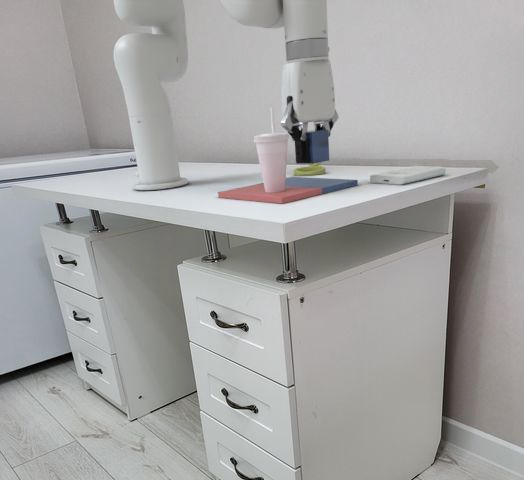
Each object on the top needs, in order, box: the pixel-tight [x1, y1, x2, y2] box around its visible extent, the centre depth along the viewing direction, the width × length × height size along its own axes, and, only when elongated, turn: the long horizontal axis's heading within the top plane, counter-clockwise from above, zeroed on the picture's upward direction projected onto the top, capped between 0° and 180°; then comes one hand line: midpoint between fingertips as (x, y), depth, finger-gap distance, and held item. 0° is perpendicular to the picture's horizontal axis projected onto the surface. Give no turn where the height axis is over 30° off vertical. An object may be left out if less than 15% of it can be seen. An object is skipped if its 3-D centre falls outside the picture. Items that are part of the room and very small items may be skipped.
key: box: [293, 162, 326, 177], centre depth 128 cm, size 7×12×2 cm, turn 0°
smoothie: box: [253, 106, 290, 192], centre depth 96 cm, size 6×6×14 cm
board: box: [217, 176, 359, 204], centre depth 104 cm, size 18×20×1 cm
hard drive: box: [369, 165, 447, 186], centre depth 104 cm, size 2×8×12 cm
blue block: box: [296, 129, 330, 165], centre depth 102 cm, size 4×4×6 cm
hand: (312, 160), depth 103 cm, fingers closed on blue block, 4 cm apart
